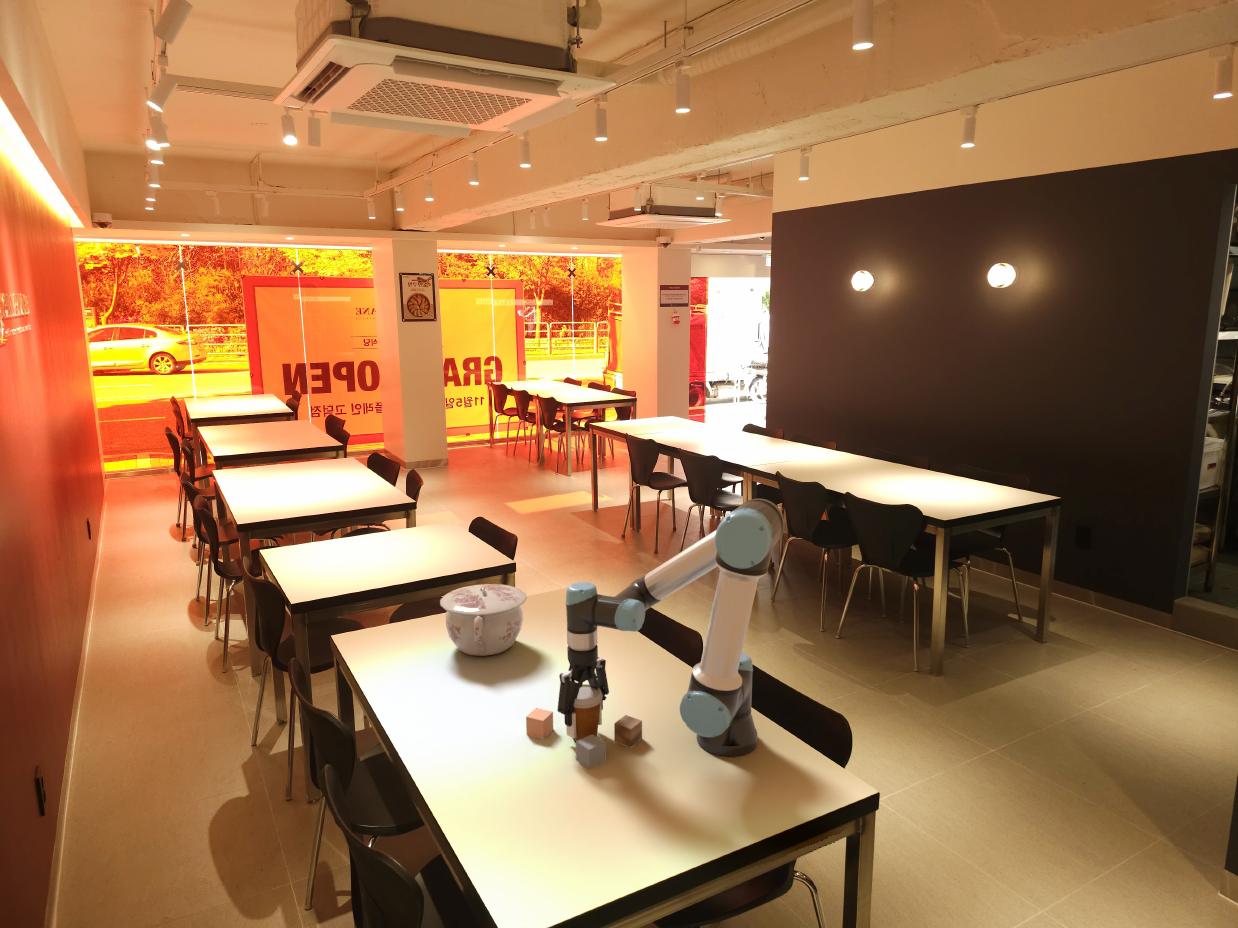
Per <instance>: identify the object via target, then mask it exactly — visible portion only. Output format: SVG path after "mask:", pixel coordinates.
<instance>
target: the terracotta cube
mask: <svg viewBox="0 0 1238 928" xmlns="http://www.w3.org/2000/svg"><path fill="white" fill-rule="evenodd" d="M525 719H526V721H525V724H526V725H525V726H526V727H525V728H526V735H527V736H531V737H534V738H535V737H536V738H538V739H545V738H546V737H547V736H548V735H549V734H550V733H551V732H552V731H553V730H554V712H553V711H550V710H546V709H543V708H539V707H536V708H534V709H533V710H532V711H530V713H528V715H526V716H525Z"/></svg>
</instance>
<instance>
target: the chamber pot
mask: <svg viewBox="0 0 1238 928" xmlns="http://www.w3.org/2000/svg"><path fill="white" fill-rule="evenodd" d="M527 599H528V597H527V593H526V592H525V591H523V590H522V589H520V588H519V587H516V586H512V585H507V584H501V583H500V584H497V583H496V584H495V583H485V584H484V583H483V584H474V585H468V586H463V587H459V588H457V589H454V590H452V591H449V592H448V593H446V594H444V596H442V598H440V600H439V602H440V603H439V605H440V607H442V609H444V610H445V611H446V613H445V626H446V631H447V634H448V637H449V639H450V640H451V641H452V642H453V644H454V646H455V647H456V648H457V649H458V650H459V651H461V652H462V653H464V654H466V655H470V656H480V657H487V656H492V655H493V656H494V655H496V654H497V655H498V654H500V653H503V652H505V651H507V650H508V649H510V648H511V647H513V644H514V643H515V641H516V640H517V638H518V636H519V634H520V633H521V630H522V625H523V620H524V614H523V613H524V612H523V608H522V605H524V604H525V602H526V600H527Z"/></svg>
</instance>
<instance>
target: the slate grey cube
mask: <svg viewBox="0 0 1238 928" xmlns="http://www.w3.org/2000/svg"><path fill="white" fill-rule="evenodd" d="M575 760H576V761H577V762H578V763H579V764H581V765H583V766H584V767H585V768H587V769H588V770H591V769H592V768H595V767H597V766H598V765H601V764H603V763H605V762H606V741H604V740H603V739H600V738H599V737H598V736H597V737H596V736H594V735H593V734H592V735H589V736H587V737H585V738H582V739H580V740H578V741H576V740H575Z"/></svg>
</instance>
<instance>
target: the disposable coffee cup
mask: <svg viewBox="0 0 1238 928" xmlns="http://www.w3.org/2000/svg"><path fill="white" fill-rule="evenodd" d="M602 698H603V695H602V693H601V690H600V689H599V688H598V690H596V689H594V688H592V687H590V685H589V683H588V684H587V683H585V684H584V683H583V684H582V687H581V688H580V689H579V693H578V696H577V699H575V702H574V711H573V712H574V713H576V738H572V739H573V740H574V741H575V742H576V741H578V740H580V739H582V738H585V737H587V736H589V735H592V734H593V735H594V736H596V737H597V738H598V730H599V725H598V723H599V714H600V705H601V701H602ZM568 708H569V707H568Z"/></svg>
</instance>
